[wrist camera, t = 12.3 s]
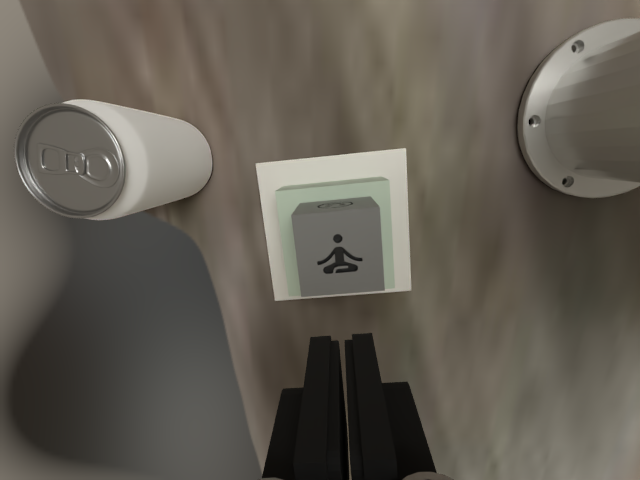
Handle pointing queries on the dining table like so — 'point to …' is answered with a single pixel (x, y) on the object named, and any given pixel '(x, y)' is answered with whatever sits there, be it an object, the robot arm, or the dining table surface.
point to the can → (108, 159)
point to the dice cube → (338, 246)
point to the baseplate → (336, 169)
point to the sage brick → (333, 190)
